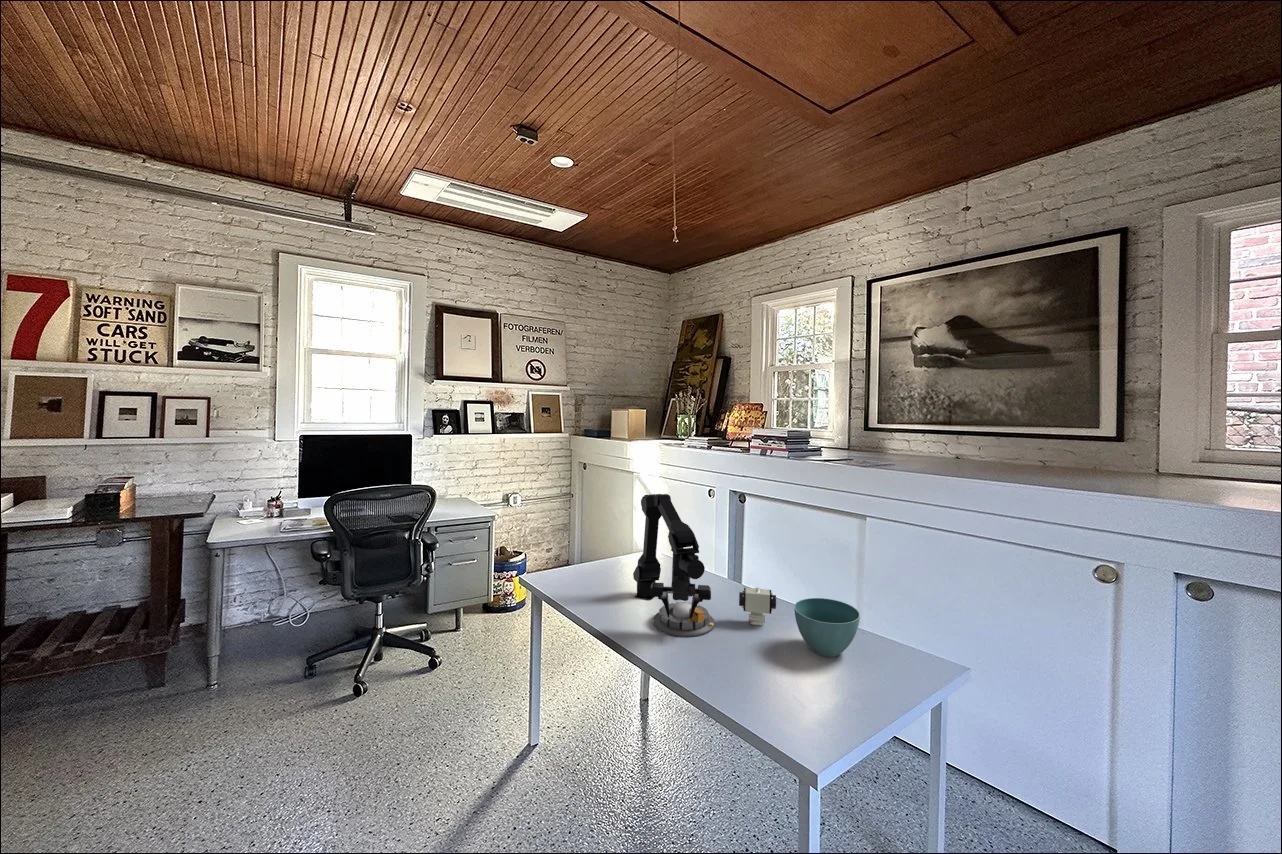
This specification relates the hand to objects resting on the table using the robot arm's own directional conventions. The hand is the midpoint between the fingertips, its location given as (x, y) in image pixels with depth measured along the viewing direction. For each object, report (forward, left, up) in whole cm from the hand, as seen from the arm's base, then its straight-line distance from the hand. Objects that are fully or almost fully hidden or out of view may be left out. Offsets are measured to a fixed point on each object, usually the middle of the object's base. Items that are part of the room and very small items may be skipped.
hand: (679, 617), depth 166 cm
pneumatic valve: (+21, +17, -5) cm, 28 cm away
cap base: (-1, +7, -5) cm, 9 cm away
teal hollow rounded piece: (+43, +7, -5) cm, 44 cm away
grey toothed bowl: (-1, +7, -4) cm, 8 cm away
